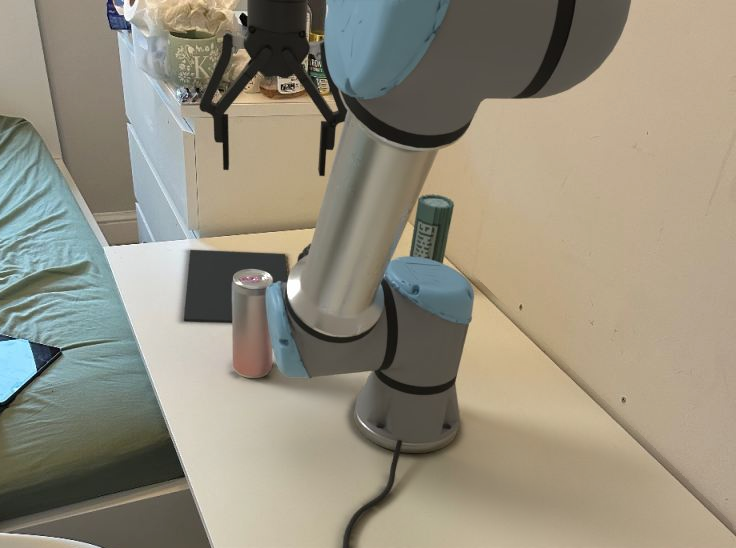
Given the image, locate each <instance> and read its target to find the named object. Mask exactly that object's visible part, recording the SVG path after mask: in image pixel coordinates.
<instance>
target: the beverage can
mask: <svg viewBox="0 0 736 548" xmlns="http://www.w3.org/2000/svg"><path fill="white" fill-rule="evenodd" d="M272 283H273V278H272V276H271V275H270V274H269V273H267V272H265V271H262V270H257V269H246V270H241V271H238V272H237V273H235V274H234V276H233V282H232V322H231V327H232V328H231V330H232V331H231V332H232V335H231V336H232V367H233V369H234V371H235V372H236V373H237V374H238V375H239V376H240V377H244V378H247V379H261V378H263V377H265V376H267V375H268V374H269V373H270V372H271V370H272V368H273V348H272V343H271V338H270V332H269V326H268V319H267V311H266V289H267V287H268V285H270V284H272Z"/></svg>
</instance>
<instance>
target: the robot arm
mask: <svg viewBox="0 0 736 548" xmlns="http://www.w3.org/2000/svg"><path fill="white" fill-rule="evenodd" d="M246 1H247V2H246V3H247V4H246V6H247V8H246V12H247V13H246V14H247V15H246V16H247V21H246V23H247V29H246V33H245V35H241V34H236V33H233V32H232V31H231V30H229V29H225V31H224V32H223V35H222V46H221V51H220V54H219V56H218V59H217V60H216V63H215V65H214V68H213V70H212V72H211V75H210V77H209V80H208V81H207V84H206V86H205V88H204V91H203V93H202V95H201V98H200V101H199V107H198V108H199V110H200V111H201V112H203V113H207V114H208V115H211V116H212V119H213V138H214V142H215V143H220V144H222V170H223V171H229V170H230V143H229V140H230V139H229V135H230V134H229V113H226V112H227V110H229V108H230V107H231V105H232V104H233V103H234V102H235V101H236V99H237V98H238V97H239V95H240V94H241V93H242V92H243V91H244V89H245V88H246V87H247V85H248V84H249V83H250V82H251V81H252V80H253V79H254V78H255V77H256V75H257V74H258V73H260V74H261V75H263V77H266V78H273V77H279V78H281V79H289V78H290V77H292V76H293V75H294V76H295V78H296V79H297V81H298V82H299V83H300V85H301V86H302V88H303V89H304V90H305V92H306V93H307V94H308V96H309V98H310V99H311V100H312V102H313V104H314V105H315V107H316V108H317V110H318V111H319V113H320V114H321V116H322V117H323V118H324V120H321V121H320V131H319V150H318V166H317V167H318V168H317V171H318V175H319V177H325V176H326V164H327V163H326V161H327V151H333V150H334V148H335V142H336V131H337V130H336V129H337V126H338V125H339V124H341V123H343V126H342V129H341V133H340V136H339V139H338V140H339V141H338V144H337V148H336V151H335V155H334V159H333V162H332V165H331V169H330V173H329V176H328V179H327V183H326V187H325V191H324V195H323V198H322V202H321V206H320V211H319V213H318V218H317V222H316V223H315V228H314V232H313V235H312V239H311V242H310V243H311V246H310V250H309V253H308V255H307V256H305V257H303V258H302V259H300V260H299V261H298V262H297V261H296V263H295V264H294V265H293V266H292V268H291V269H290V271H289V274H288V280H287V282H285V283H283V282H282V281H278V282H277V283H272V284H270V285H268V287H267V289H266V311H267V319H268V326H269V332H270V338H271V343H272V353H273V356H274V359H275V362H276V365H277V368H278V371H279V372H280V373H281V374H282V375H283V376H284V377H286V378H288V379H299V378H300V379H301V378H302V379H303V378H305V379H308V380H310V379H312V378H319V377H320V378H321V377H329V376H338V375H348V374H356V373H366V372H367V373H368V372H370V374H369V375H368V377H367V379H366V381H365V383H364V385H363V386H362V388H361V390H360V391H359V394H358V396H357V398H356V400H355V403H354V412H353V419H354V423H355V425H356V427H357V429H358V430H359V432H360V433H361V434H362V435H363V436H364V437H365V438H367V439H368V440H369V441H371V442H372V443H374V444H375V445H377V446H380V447H382V448H385V449H387V450H391V451H393V456H392V461H391V464H390V470H389V477H388V482H387V485H386V487H385V488H384V489H383V491H382V492H381V493H380V494H379V495H378V496H376V497H375V498H374V499H372V500H370V501H369V502H367V503H366V504H364V505H363V506H361V507H360V508H359V509H358V510H356V511H355V513H354V514H352V517H350V520H349V522H348V524H347V526H346V529H345V531H344V533H343V534H344V535H343V541H342V548H350V538H351V534H352V531H353V529H354V526H355V524H356V523H357V521H358V519H359V518H360V517H361V516H362V515H363V514H364V513H365V512H367V511H368V510H370V509H371V508H373V507H374V506H376V505H378V504H379V503H380V502H382V501H383V500H384V499H385V498H386V497H387V496H388V495H389V493H390V492H391V491H392V489H393V487H394V483H395V479H396V471H397V466H398V461H399V457H400V453H403V454H405V453H406V454H426V453H431V452H435V451H438V450H441V449H443V448H444V447H446V446H448V445H449V444H450V443H452V441H454V440H455V438H456V435H457V434H458V429H459V424H460V422H461V421H460V420H461V416H460V408H459V407H460V406H459V399H458V392H457V387H456V386H457V385H456V382H457V378H458V373H459V369H460V368H459V367H460V365H461V362H462V361H461V360H462V356H463V351H464V347H465V344H466V339H467V335H468V330H469V326H470V324H471V322H472V320H473V310H474V302H475V301H474V300H475V291H474V288H473V286H472V283H471V282H470V281H469V279H468V278H467V277H465V276H464V275H463V274H462V273H461V272H459V271H458V270H456V269H455V268H453V267H451V266H449V265H447V264H445V263H443V264H442V263H440V262H437V261H434V260H430V259H426V258H420V257H409V256H410V255H409V256H406V255H405V256H398V257H396V258H394V259H392V258H393V257H394V254H395V251H396V250H397V247H398V245H399V243H400V240H401V237H402V236H403V233H404V231H405V229H406V226H407V224H408V222H409V219H410V217H411V215H412V213H413V210H414V208H415V206H416V205H417V204H416V203H417V202H418V199H419V198H420V197H419V196H420V194H421V192H422V190H423V187H424V185H425V183H426V181H427V179H428V176H429V174H430V171H431V169H432V167H433V166H434V162H435V160H436V157H437V155H438V153H439V151H440V150H442V149H445V148H448V147H450V146H452V145H454V144H455V143H457V142H458V141H460V140H461V139H462V138H463V136H464V135H466V133H467V131H468V129H469V128H470V126H471V124H472V121H473V120H474V118H475V116H476V113H477V111H478V109H479V107H480V105H481V104H482V102H483V101H485V100H486V99H490V100H491V99H492V100H493V99H497V100H501V99H502V100H522V99H527V100H528V99H544V98H548V97H552V96H555V95H558V94H562V93H565V92H567V91H569V90H571V89H572V88H574V87H576V86H577V85H579V84H581V83H582V82H584V81H586V80H587V79H588V78H589V77H590V76H591V75H592V74H594V73H595V72H596V71H597V70H599V69H600V67H601V66H602V65H603V64H604V63H605V61H606V60H607V59H608V58H609V56H610V55H611V54H612V52H613V51H614V49H615V47H616V45H618V44H617V43H618V42H619V41H620V39H621V36H622V34H623V31H624V29H625V27H626V24H627V21H628V19H629V15H630V14H629V13H630V9H631V3H632V0H325V4H326V5H327V12H326V17H324V24H323V25H324V26H323V38H321V39H320V40H318V41H317V40H315V41H309V40H308V36H307V28H308V27H307V26H308V25H307V24H308V5H309V0H246ZM241 47H244V50H245V51H246V53H247V55H248V57H249V58H250V59H249V60H248V62H247V63H246V64H245V65H244V67H243V68H242V69H241V71H240V73H239V74H238V75H237V76H236V78H235V79H234V80H233V81H232V83H231V84H230V85H229V86H228V88H227V89H226V90H225V91H224V92H223V94H222V95H221V97H220V98H219V99H218V100H217V102H215V101H213V99H214V97H215V96H216V93H217V90H218V88H219V86H220V83H221V82H222V79H223V77H224V74H225V71H226V70H227V68H228V66H229V63H230V62H231V56H232V55H236V54H237V53H238V52H239V49H240V48H241ZM309 53H311V54H313V56H314V58H315V60H316V61H317V62H320V63H321V66H322V70H323V73H324V75H325V78H326V81H327V84H328V87H329V90H330V93H331V95H332V97H333V100H334V103H335V106H336V109H337V110H335V111H333V110H332V108H331V106H330V105H329V104H328V102H327V100H326V98H325V97H324V96H323V94H322V93H321V92H320V90H319V88H318V87H317V85H316V84H315V82H314V81H313V79H312V78H311V76H310V74H309V73H308V72H307V70H306V68H305V67H304V64H303V62H304V61H305V60H306V58H307V57H308V55H309Z"/></svg>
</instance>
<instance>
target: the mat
mask: <svg viewBox="0 0 736 548" xmlns="http://www.w3.org/2000/svg"><path fill="white" fill-rule="evenodd" d="M246 269H257V270H262V271H265V272H267V273H269V274H270V275H271V276H272V278H273V283H277V282H278V281H282V282H283V283H285V282H287V280H288V277H289V275H288V269H287V259H286V254H285V253H276V252H275V253H272V252H252V251H251V252H249V251H227V250H226V251H225V250H223V251H222V250H203V249H190V250H189V261H188V271H187V281H186V293H185V301H184V302H185V303H184V314H183V321H184V322H208V323H209V322H210V323H211V322H214V323H232V282H233V276H234V274H235V273H237V272H238V271H241V270H246Z"/></svg>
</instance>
